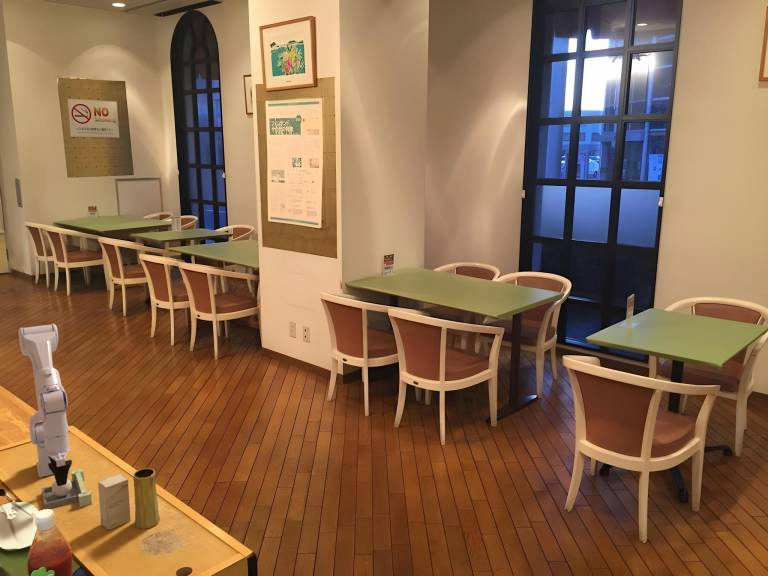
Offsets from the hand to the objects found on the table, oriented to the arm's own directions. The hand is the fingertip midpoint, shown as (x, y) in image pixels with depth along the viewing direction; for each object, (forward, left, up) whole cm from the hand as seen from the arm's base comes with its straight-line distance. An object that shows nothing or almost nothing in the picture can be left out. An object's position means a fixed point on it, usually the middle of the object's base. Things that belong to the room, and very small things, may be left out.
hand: (60, 478), depth 176 cm
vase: (+24, +18, -6) cm, 30 cm away
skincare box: (+20, +11, -6) cm, 23 cm away
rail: (0, +5, -6) cm, 8 cm away
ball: (0, 0, -3) cm, 3 cm away
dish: (0, 0, -6) cm, 6 cm away
